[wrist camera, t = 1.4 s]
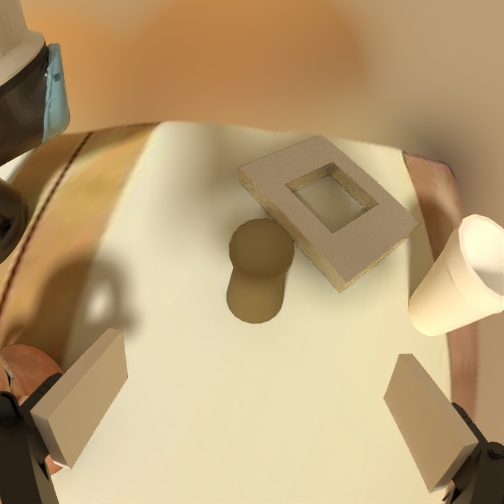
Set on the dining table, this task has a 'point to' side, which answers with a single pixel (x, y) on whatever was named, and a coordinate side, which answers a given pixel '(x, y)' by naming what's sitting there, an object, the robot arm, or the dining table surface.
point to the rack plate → (310, 227)
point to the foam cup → (462, 279)
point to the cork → (258, 269)
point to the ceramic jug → (26, 376)
